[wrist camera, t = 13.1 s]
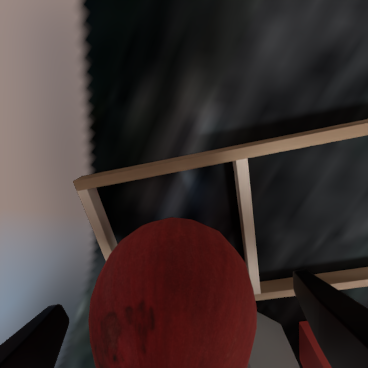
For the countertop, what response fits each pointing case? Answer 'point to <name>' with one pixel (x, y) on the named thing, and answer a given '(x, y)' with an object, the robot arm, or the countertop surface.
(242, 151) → the wooden frame with crossbars
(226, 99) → the countertop surface
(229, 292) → the onion
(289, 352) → the dome base
